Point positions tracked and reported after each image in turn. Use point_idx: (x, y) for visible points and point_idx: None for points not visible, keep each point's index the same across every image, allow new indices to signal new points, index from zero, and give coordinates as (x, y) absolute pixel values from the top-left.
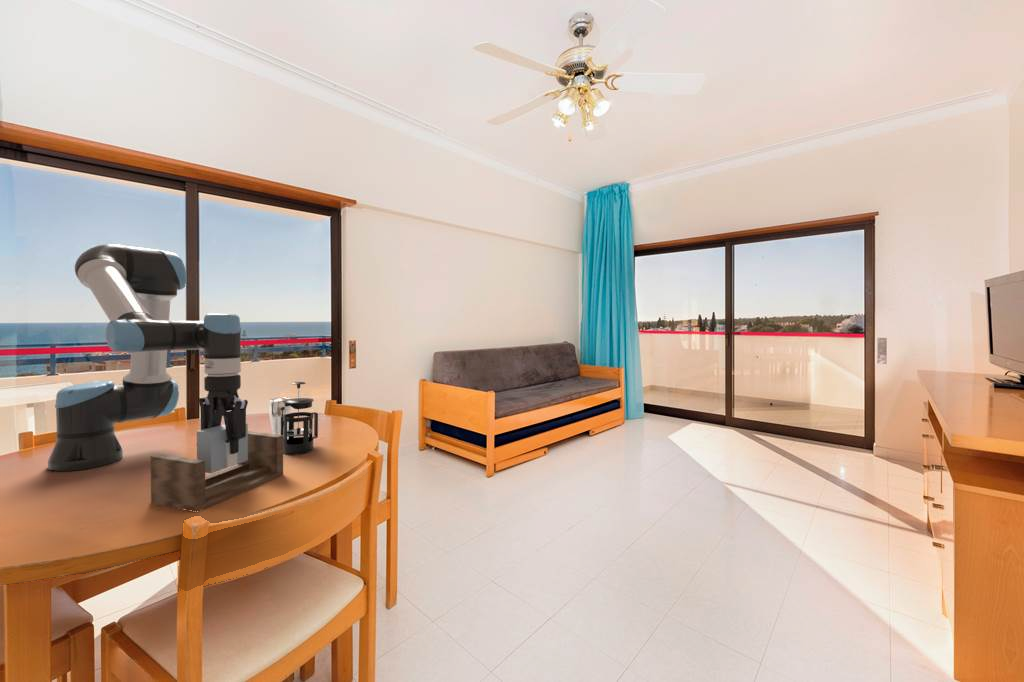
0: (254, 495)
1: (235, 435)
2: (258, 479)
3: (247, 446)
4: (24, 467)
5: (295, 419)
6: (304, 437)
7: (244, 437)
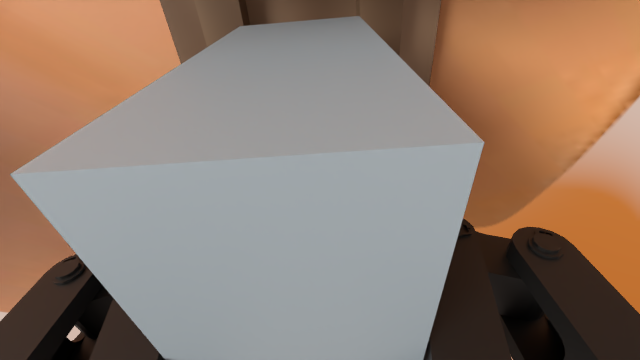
0: (485, 99)
1: (527, 331)
2: (426, 5)
3: (373, 33)
4: None
5: None
6: None
7: (539, 230)
